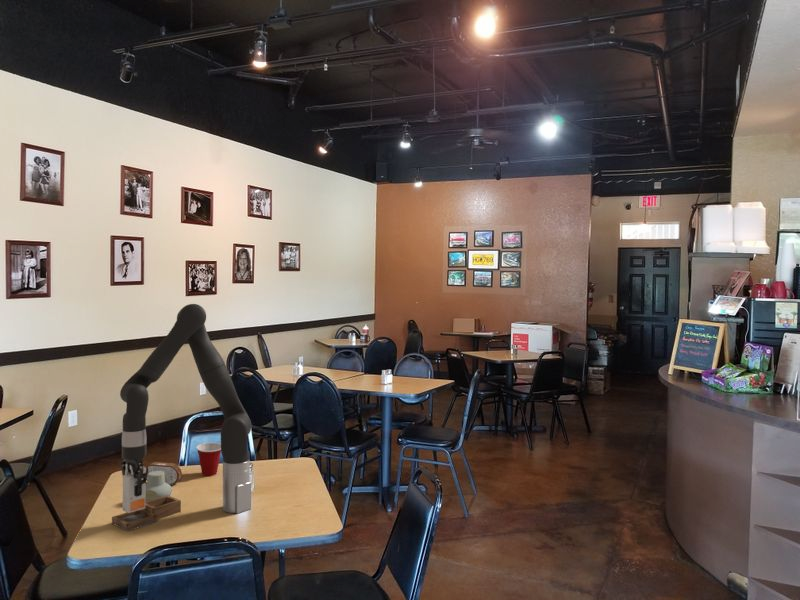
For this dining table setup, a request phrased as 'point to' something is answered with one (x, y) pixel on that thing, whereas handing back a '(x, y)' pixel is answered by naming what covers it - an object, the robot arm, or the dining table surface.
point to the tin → (167, 471)
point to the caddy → (148, 513)
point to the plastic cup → (209, 458)
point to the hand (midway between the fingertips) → (134, 493)
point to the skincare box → (132, 495)
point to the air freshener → (157, 486)
